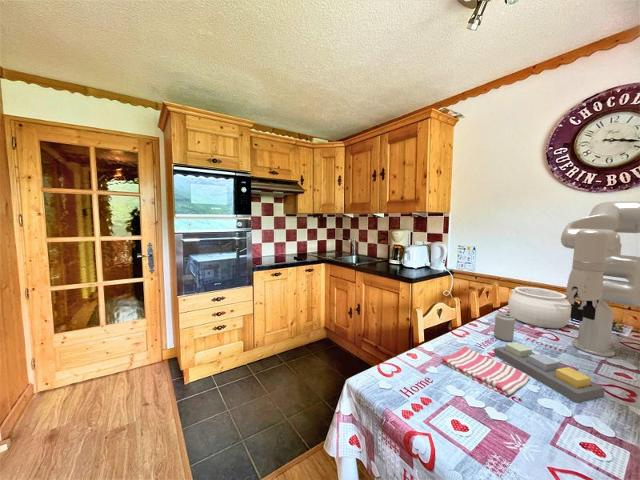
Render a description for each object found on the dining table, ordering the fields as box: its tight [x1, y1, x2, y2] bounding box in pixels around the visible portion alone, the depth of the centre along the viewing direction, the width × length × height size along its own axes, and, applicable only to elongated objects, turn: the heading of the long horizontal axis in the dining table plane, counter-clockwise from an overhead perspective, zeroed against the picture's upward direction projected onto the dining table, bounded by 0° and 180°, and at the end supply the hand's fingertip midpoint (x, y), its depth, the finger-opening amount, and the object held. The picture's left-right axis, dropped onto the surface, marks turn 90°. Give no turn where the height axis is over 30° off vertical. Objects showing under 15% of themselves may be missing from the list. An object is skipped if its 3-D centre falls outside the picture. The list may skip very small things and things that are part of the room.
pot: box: [507, 286, 571, 329], centre depth 141 cm, size 29×26×16 cm
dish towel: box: [441, 345, 531, 397], centre depth 94 cm, size 17×23×4 cm
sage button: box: [504, 341, 533, 358], centre depth 101 cm, size 6×6×3 cm
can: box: [493, 311, 516, 342], centre depth 120 cm, size 8×8×12 cm
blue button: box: [528, 353, 560, 372], centre depth 93 cm, size 6×6×3 cm
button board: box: [493, 346, 606, 403], centre depth 93 cm, size 12×28×3 cm, turn 14°
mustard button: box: [555, 366, 592, 389], centre depth 84 cm, size 6×6×3 cm
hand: (582, 318), depth 87 cm, fingers open, 4 cm apart
